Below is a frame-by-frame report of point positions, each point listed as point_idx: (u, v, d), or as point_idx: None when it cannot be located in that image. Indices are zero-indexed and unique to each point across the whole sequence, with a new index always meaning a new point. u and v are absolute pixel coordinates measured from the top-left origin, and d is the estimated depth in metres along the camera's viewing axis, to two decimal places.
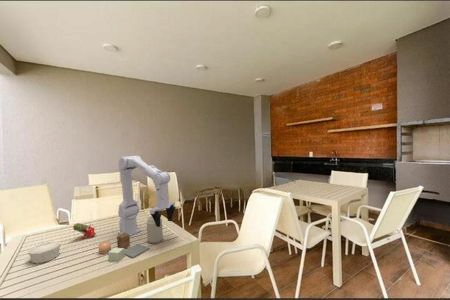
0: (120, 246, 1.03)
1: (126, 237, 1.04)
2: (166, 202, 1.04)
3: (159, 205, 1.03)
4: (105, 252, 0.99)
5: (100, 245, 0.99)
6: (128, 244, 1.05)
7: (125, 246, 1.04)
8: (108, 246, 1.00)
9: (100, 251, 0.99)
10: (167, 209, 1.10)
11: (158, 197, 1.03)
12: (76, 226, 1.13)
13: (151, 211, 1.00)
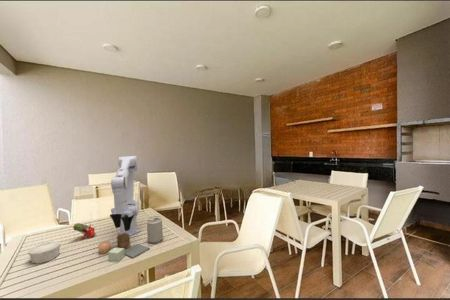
0: (120, 246, 1.03)
1: (126, 237, 1.04)
2: (115, 208, 1.02)
3: None
4: (105, 252, 0.99)
5: (100, 245, 0.99)
6: (128, 244, 1.05)
7: (125, 246, 1.04)
8: (108, 246, 1.00)
9: (100, 251, 0.99)
10: None
11: (114, 201, 1.03)
12: (76, 226, 1.13)
13: None
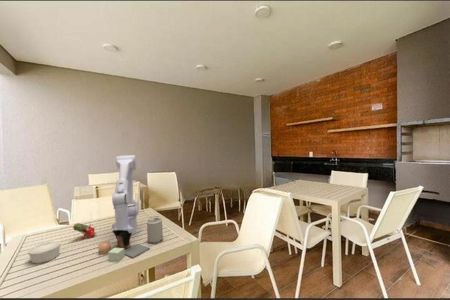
0: (120, 246, 1.03)
1: None
2: (116, 224, 1.02)
3: None
4: (105, 252, 0.99)
5: (100, 245, 0.99)
6: None
7: (125, 246, 1.04)
8: (108, 246, 1.00)
9: (100, 251, 0.99)
10: None
11: (115, 217, 1.03)
12: (76, 226, 1.13)
13: None
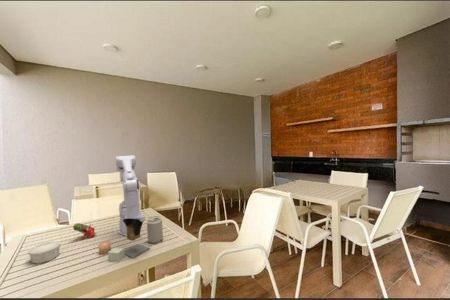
0: (130, 237, 0.98)
1: None
2: (127, 212, 0.97)
3: None
4: (105, 252, 0.99)
5: (100, 245, 0.99)
6: (138, 235, 1.00)
7: (135, 237, 0.98)
8: (108, 246, 1.00)
9: (100, 251, 0.99)
10: None
11: (125, 205, 0.98)
12: (76, 226, 1.13)
13: None
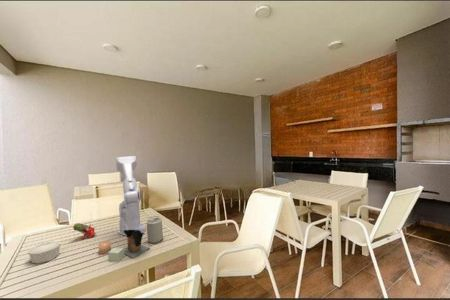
0: (131, 248, 0.98)
1: None
2: (127, 223, 0.97)
3: None
4: (105, 252, 0.99)
5: (100, 245, 0.99)
6: (139, 246, 1.00)
7: (136, 248, 0.98)
8: (108, 246, 1.00)
9: (100, 251, 0.99)
10: None
11: (126, 216, 0.98)
12: (76, 226, 1.13)
13: None
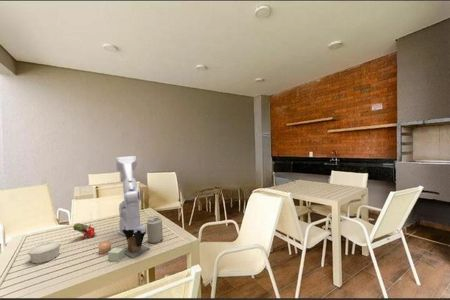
0: (131, 249, 0.98)
1: None
2: (127, 223, 0.97)
3: None
4: (105, 252, 0.99)
5: (100, 245, 0.99)
6: (139, 247, 1.00)
7: (136, 249, 0.99)
8: (108, 246, 1.00)
9: (100, 251, 0.99)
10: None
11: (126, 216, 0.98)
12: (76, 226, 1.13)
13: None
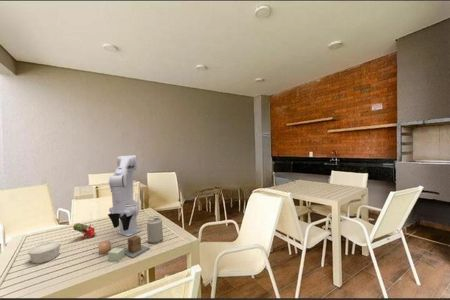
0: (131, 249, 0.98)
1: (137, 240, 0.99)
2: (113, 207, 0.99)
3: None
4: (106, 252, 0.99)
5: (100, 245, 0.99)
6: (139, 247, 1.00)
7: (136, 249, 0.99)
8: (109, 246, 1.00)
9: (100, 251, 0.98)
10: None
11: None
12: (76, 226, 1.13)
13: None
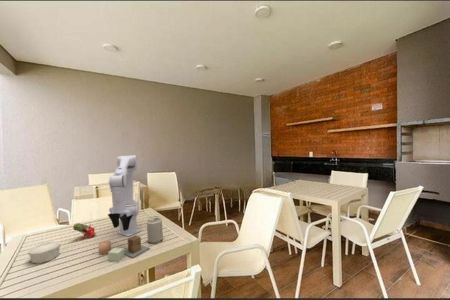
0: (131, 249, 0.98)
1: (137, 240, 0.99)
2: (113, 207, 0.99)
3: None
4: (107, 251, 0.99)
5: (101, 244, 0.99)
6: (139, 247, 1.00)
7: (136, 249, 0.99)
8: (109, 245, 1.01)
9: (101, 250, 0.99)
10: None
11: None
12: (76, 226, 1.13)
13: None
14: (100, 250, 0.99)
